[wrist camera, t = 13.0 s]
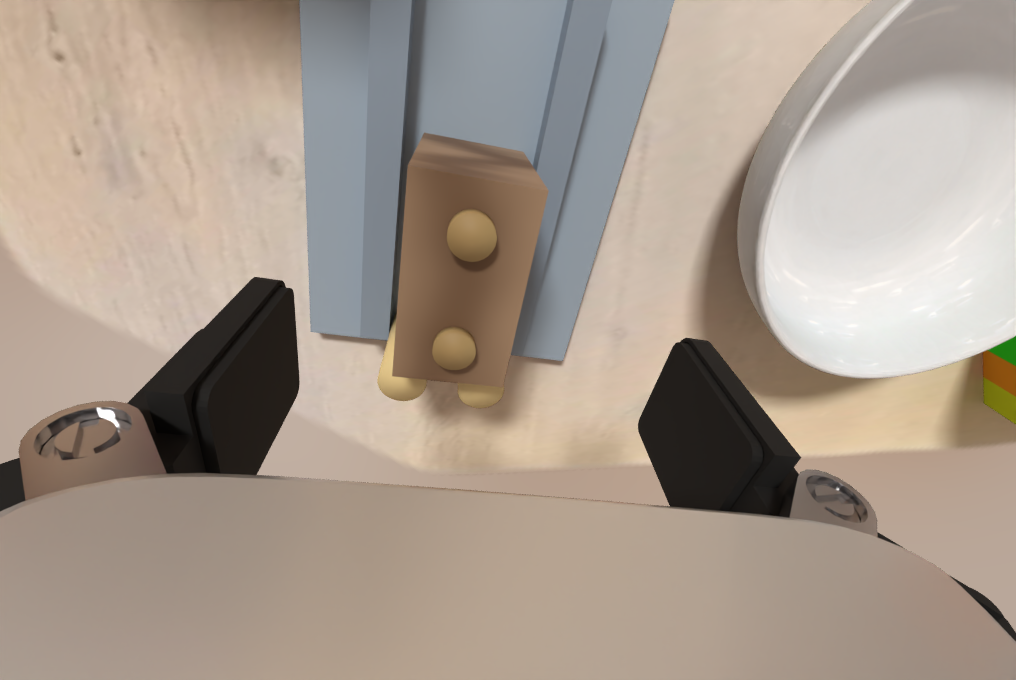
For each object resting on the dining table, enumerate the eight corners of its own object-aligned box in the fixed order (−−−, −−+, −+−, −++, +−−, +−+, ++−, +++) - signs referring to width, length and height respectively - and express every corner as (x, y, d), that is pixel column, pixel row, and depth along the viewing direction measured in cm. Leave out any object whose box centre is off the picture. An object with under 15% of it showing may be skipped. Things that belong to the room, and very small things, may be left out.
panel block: (523, 151, 23) (551, 194, 16) (492, 306, 28) (503, 395, 20) (424, 132, 22) (405, 168, 15) (409, 295, 27) (390, 384, 19)
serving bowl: (642, 300, 30) (687, 359, 24) (818, -139, 19) (974, -225, 13) (903, 341, 33) (996, 401, 28) (1170, -8, 23) (1414, -30, 17)
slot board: (668, -4, 21) (749, -29, 15) (560, 352, 31) (583, 422, 25) (303, -104, 18) (226, -182, 12) (315, 323, 28) (276, 394, 22)
